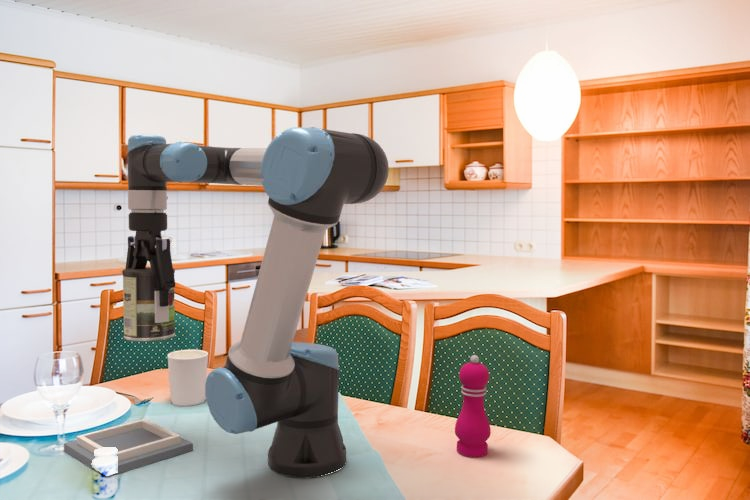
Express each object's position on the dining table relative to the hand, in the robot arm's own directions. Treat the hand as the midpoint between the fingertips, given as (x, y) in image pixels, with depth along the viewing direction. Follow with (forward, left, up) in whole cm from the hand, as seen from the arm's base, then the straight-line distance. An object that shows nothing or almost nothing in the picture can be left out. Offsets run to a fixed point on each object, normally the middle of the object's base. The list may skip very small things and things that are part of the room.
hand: (149, 318), depth 136 cm
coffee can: (0, 0, -4) cm, 4 cm away
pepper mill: (-53, -42, -26) cm, 72 cm away
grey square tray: (-3, +6, -26) cm, 27 cm away
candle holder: (+17, -20, -26) cm, 37 cm away
